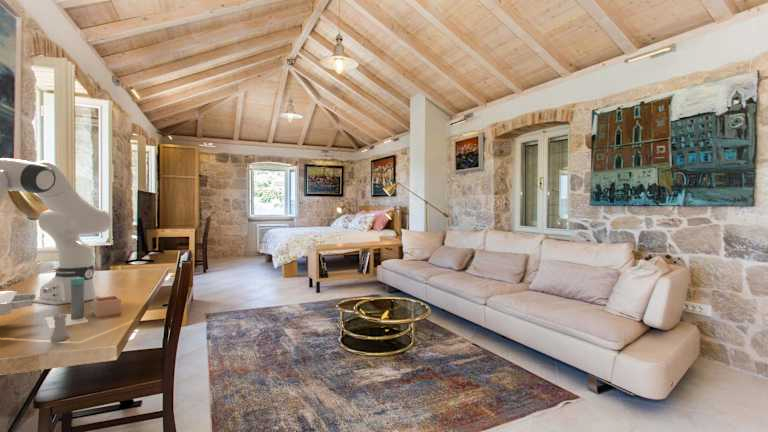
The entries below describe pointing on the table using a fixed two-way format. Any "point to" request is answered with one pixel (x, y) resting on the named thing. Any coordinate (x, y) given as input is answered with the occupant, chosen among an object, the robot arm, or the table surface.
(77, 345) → the table surface
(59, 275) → the robot arm
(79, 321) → the drawing board
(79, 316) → the marker
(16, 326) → the table surface
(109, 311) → the pen cup
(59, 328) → the rook chess piece
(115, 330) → the table surface
